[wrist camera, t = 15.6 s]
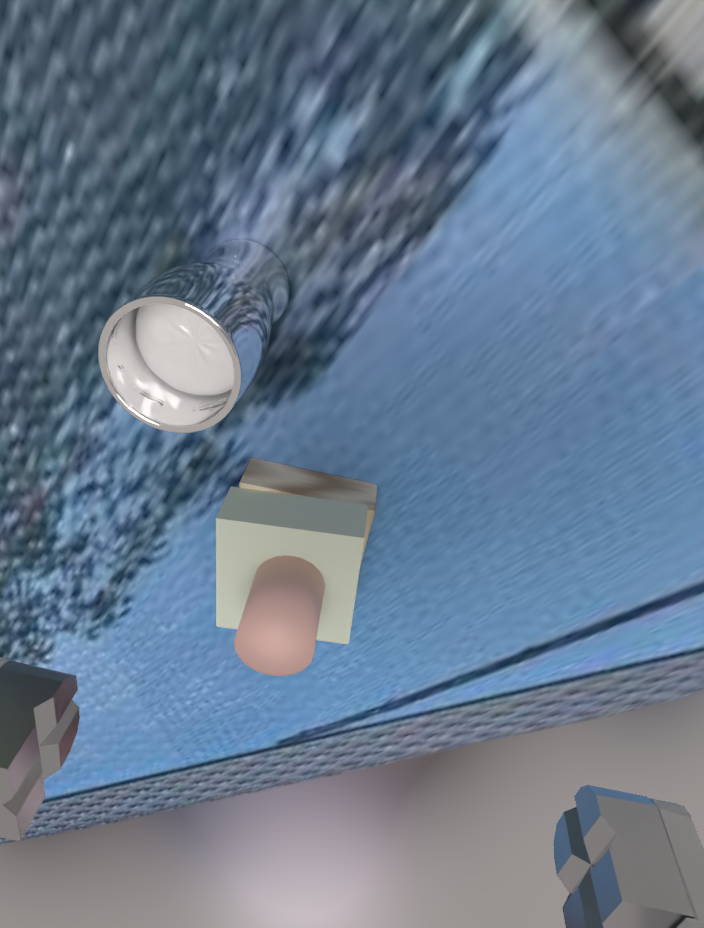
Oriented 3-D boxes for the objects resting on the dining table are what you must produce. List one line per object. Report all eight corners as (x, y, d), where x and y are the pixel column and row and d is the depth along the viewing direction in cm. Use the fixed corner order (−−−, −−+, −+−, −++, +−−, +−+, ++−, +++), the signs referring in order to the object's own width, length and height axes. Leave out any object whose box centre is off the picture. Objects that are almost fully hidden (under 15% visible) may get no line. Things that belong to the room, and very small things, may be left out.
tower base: (377, 482, 48) (375, 510, 44) (352, 577, 53) (348, 610, 49) (251, 455, 47) (239, 482, 44) (238, 553, 52) (226, 585, 49)
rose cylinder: (330, 563, 42) (319, 627, 37) (318, 615, 44) (307, 682, 39) (258, 549, 42) (237, 611, 37) (251, 602, 44) (231, 667, 39)
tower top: (367, 504, 44) (364, 538, 41) (352, 606, 49) (348, 644, 46) (230, 486, 44) (216, 518, 41) (229, 590, 49) (216, 626, 46)
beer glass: (318, 299, 40) (277, 387, 28) (240, 356, 43) (169, 462, 30) (249, 207, 38) (168, 257, 25) (171, 274, 40) (61, 351, 27)
